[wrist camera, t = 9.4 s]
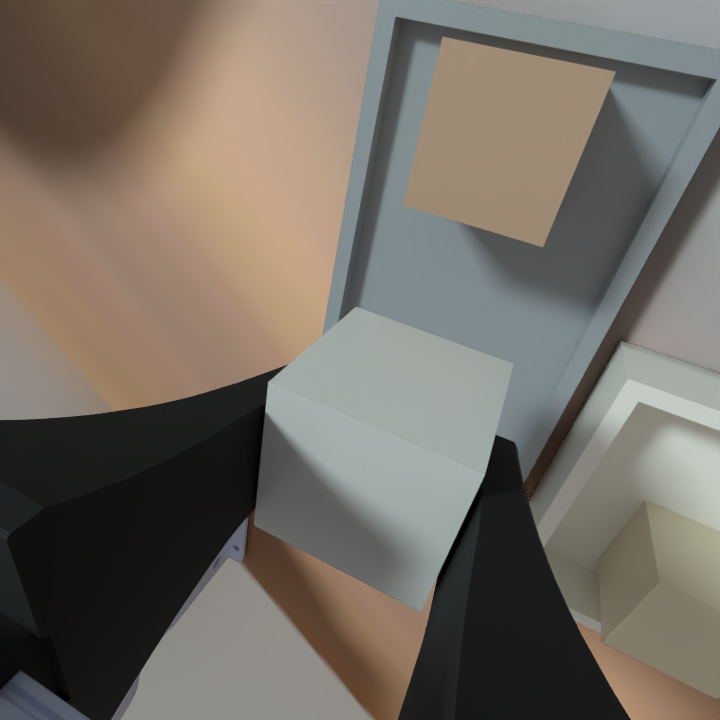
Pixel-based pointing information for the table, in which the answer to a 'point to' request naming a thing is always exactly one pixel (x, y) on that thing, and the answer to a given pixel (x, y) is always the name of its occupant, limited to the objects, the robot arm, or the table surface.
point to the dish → (628, 465)
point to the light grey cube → (378, 450)
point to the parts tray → (505, 254)
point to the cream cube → (664, 596)
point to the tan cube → (503, 137)
